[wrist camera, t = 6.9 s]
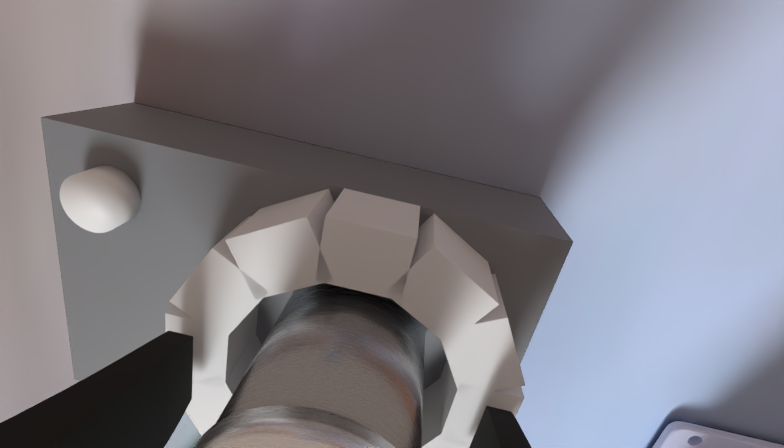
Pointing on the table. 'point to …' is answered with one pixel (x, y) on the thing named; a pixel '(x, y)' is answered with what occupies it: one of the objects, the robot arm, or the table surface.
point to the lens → (330, 377)
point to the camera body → (288, 253)
